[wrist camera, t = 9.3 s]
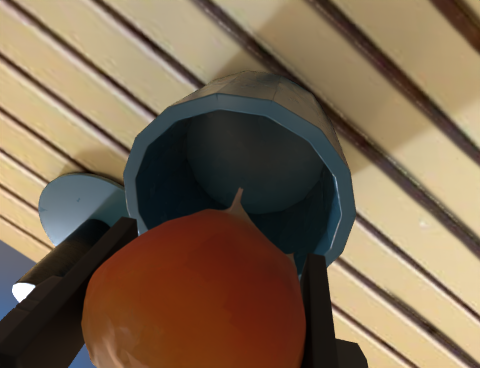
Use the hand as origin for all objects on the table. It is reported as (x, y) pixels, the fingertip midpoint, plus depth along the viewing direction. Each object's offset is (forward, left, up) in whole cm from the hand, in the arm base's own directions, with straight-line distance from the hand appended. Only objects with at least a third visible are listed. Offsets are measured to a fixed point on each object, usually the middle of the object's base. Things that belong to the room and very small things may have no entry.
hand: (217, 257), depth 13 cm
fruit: (0, 0, 0) cm, 1 cm away
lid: (+12, -16, -13) cm, 24 cm away
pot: (0, 0, -13) cm, 13 cm away
